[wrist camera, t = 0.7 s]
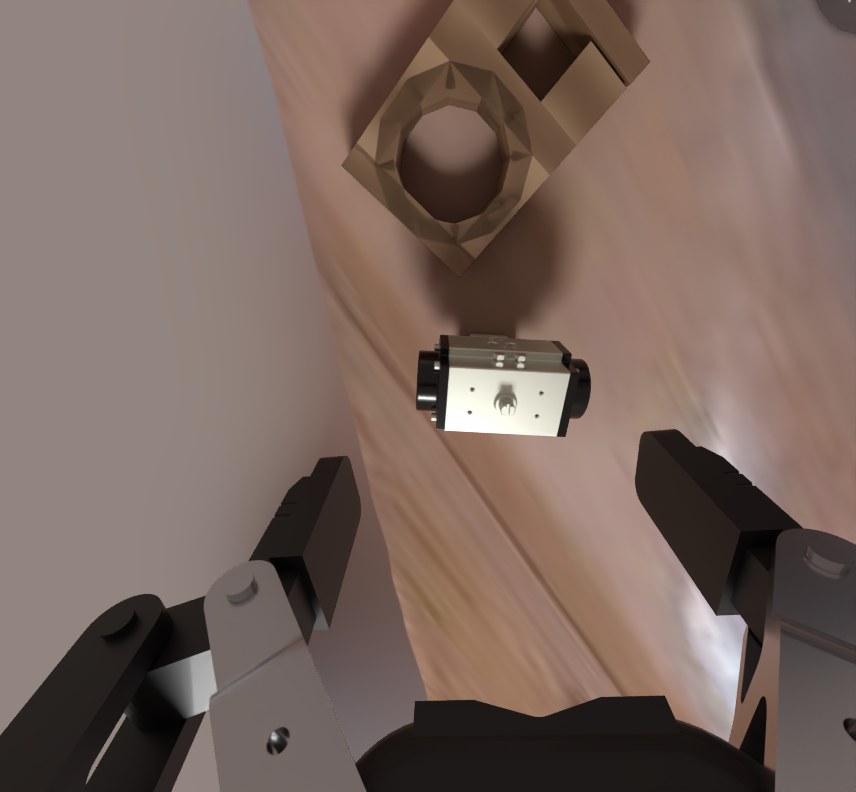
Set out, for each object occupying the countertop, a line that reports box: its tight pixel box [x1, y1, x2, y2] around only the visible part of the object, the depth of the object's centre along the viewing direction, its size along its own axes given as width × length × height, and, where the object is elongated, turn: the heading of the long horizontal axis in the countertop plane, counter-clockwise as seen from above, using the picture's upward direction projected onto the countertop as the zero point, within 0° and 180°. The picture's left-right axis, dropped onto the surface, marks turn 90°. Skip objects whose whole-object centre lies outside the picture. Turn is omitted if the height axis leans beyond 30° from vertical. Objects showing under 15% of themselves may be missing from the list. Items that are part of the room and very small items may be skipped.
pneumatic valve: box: [416, 333, 591, 437], centre depth 29 cm, size 6×12×12 cm, turn 87°
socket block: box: [341, 0, 650, 277], centre depth 26 cm, size 17×11×4 cm, turn 138°
